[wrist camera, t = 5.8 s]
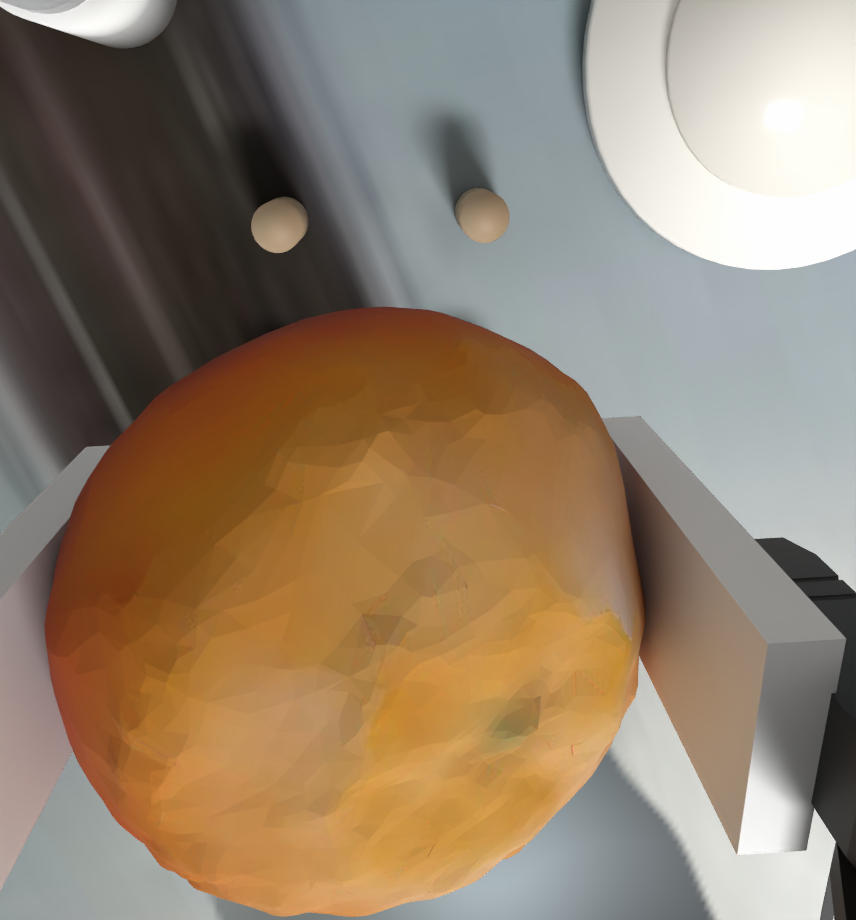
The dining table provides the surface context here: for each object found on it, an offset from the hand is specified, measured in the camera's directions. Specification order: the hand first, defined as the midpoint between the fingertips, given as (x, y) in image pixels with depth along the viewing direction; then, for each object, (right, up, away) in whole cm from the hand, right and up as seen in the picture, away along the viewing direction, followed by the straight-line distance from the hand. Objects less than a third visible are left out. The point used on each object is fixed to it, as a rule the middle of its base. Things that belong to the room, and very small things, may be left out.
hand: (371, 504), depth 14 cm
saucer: (+13, +14, +13) cm, 23 cm away
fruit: (0, 0, 0) cm, 1 cm away
